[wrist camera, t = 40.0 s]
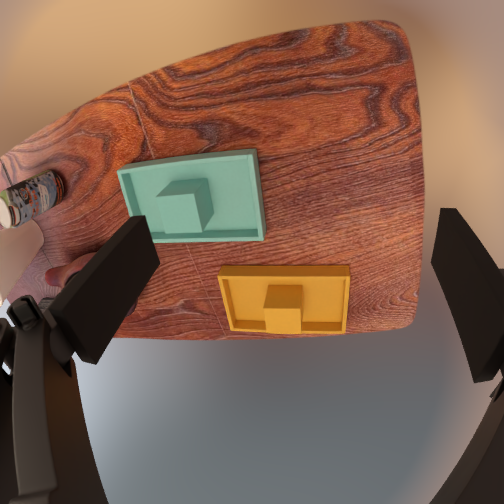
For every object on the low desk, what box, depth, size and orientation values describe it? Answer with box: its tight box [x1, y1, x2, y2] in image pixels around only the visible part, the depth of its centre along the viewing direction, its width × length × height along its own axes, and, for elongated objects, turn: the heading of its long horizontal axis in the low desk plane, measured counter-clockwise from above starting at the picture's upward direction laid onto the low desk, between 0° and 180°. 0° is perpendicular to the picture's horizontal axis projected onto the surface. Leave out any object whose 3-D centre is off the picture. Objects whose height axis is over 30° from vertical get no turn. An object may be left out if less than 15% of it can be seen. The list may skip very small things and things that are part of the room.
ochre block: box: [263, 285, 304, 334], centre depth 45 cm, size 5×5×5 cm
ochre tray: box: [218, 265, 350, 334], centre depth 47 cm, size 18×11×3 cm, turn 97°
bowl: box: [45, 252, 138, 317], centre depth 49 cm, size 16×13×8 cm
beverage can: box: [0, 170, 64, 229], centre depth 39 cm, size 6×7×12 cm
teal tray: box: [117, 148, 267, 243], centre depth 40 cm, size 18×11×3 cm, turn 97°
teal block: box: [155, 178, 214, 234], centre depth 38 cm, size 5×5×5 cm
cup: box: [0, 219, 44, 307], centre depth 45 cm, size 12×12×16 cm
